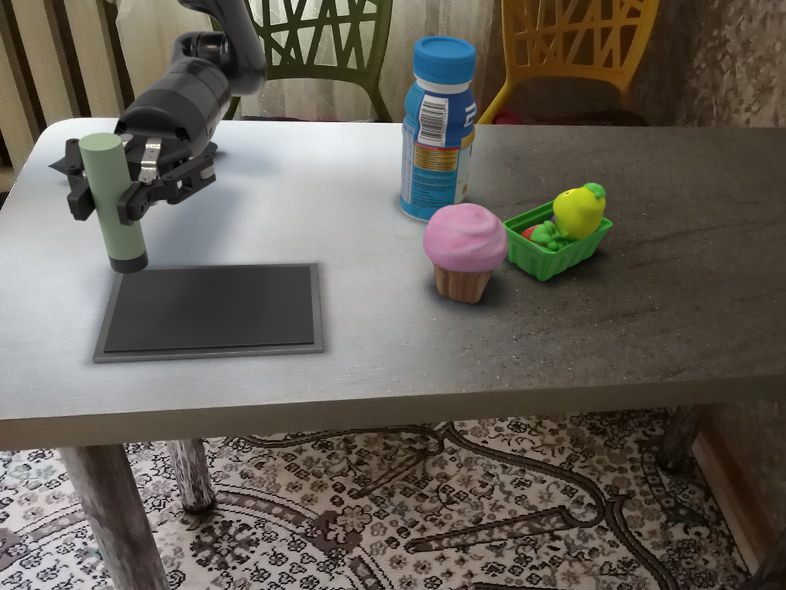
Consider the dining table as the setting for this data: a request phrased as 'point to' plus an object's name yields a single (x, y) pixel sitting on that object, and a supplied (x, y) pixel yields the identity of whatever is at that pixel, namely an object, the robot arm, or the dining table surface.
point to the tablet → (211, 313)
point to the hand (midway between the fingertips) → (100, 213)
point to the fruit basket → (558, 232)
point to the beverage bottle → (438, 127)
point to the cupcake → (464, 249)
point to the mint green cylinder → (113, 200)
